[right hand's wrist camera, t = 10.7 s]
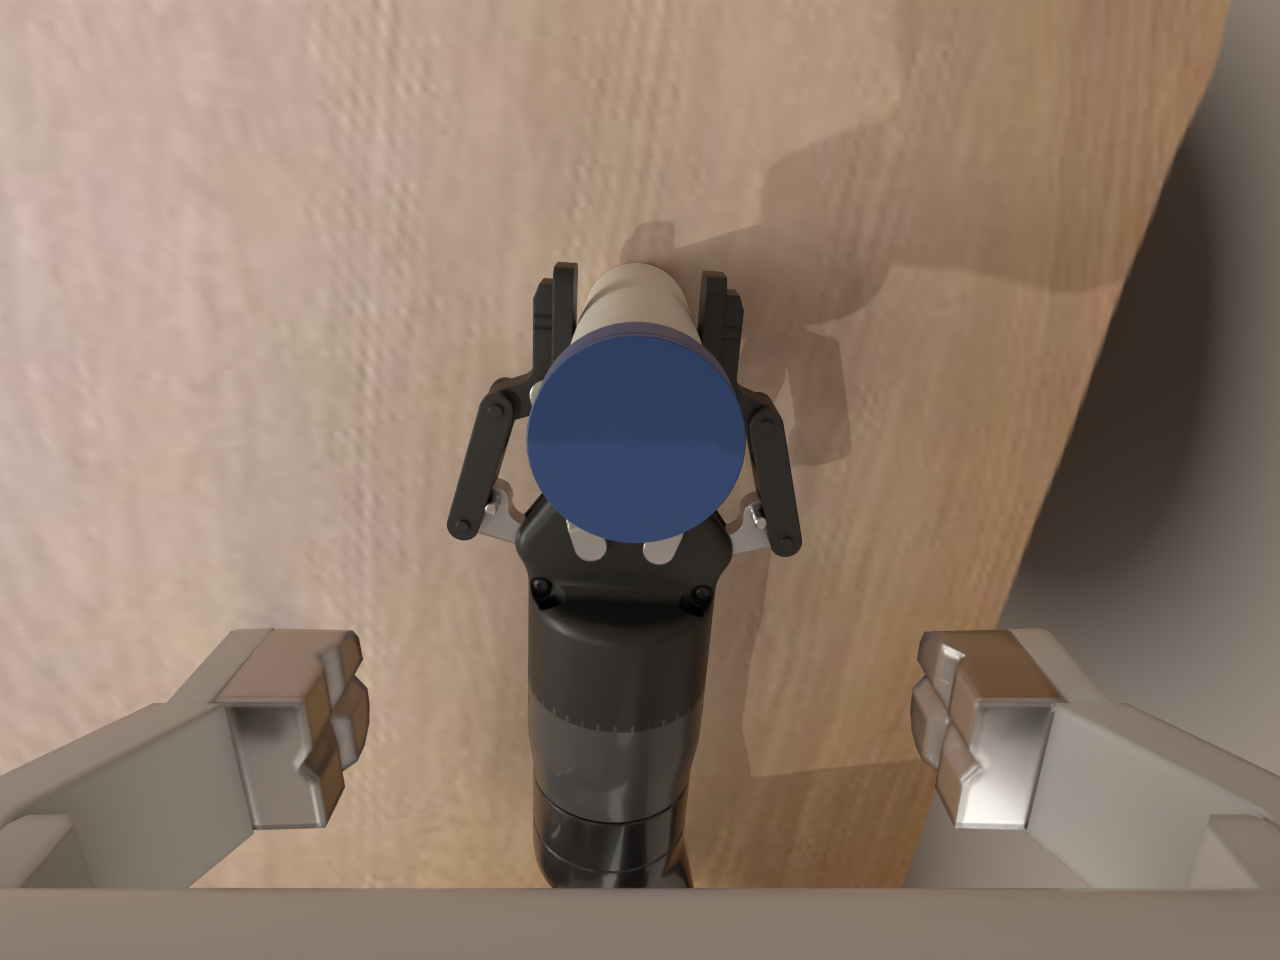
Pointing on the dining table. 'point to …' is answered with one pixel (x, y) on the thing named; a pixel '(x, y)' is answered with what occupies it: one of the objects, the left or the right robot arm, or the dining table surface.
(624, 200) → the dining table surface
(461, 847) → the dining table surface
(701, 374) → the lid
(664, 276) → the white bottle
